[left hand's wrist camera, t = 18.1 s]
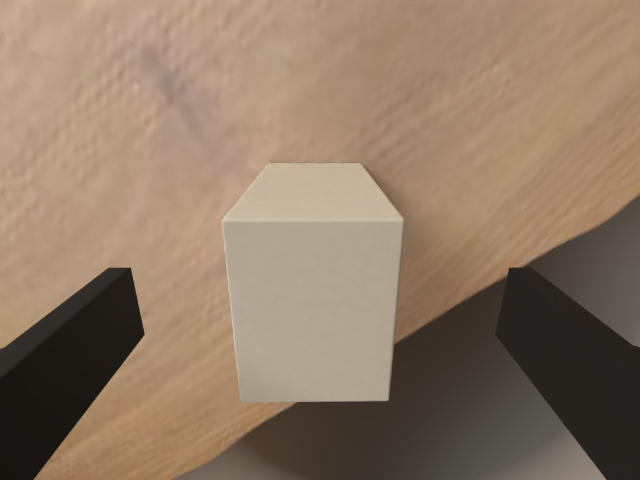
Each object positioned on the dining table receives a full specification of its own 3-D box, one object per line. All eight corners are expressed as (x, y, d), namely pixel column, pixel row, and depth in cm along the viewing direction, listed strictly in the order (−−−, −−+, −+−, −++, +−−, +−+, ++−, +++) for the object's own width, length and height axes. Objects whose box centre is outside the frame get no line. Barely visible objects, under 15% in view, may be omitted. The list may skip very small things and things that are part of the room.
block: (356, 270, 22) (389, 402, 13) (273, 271, 22) (239, 403, 12) (361, 162, 20) (405, 219, 10) (267, 162, 20) (220, 219, 10)
